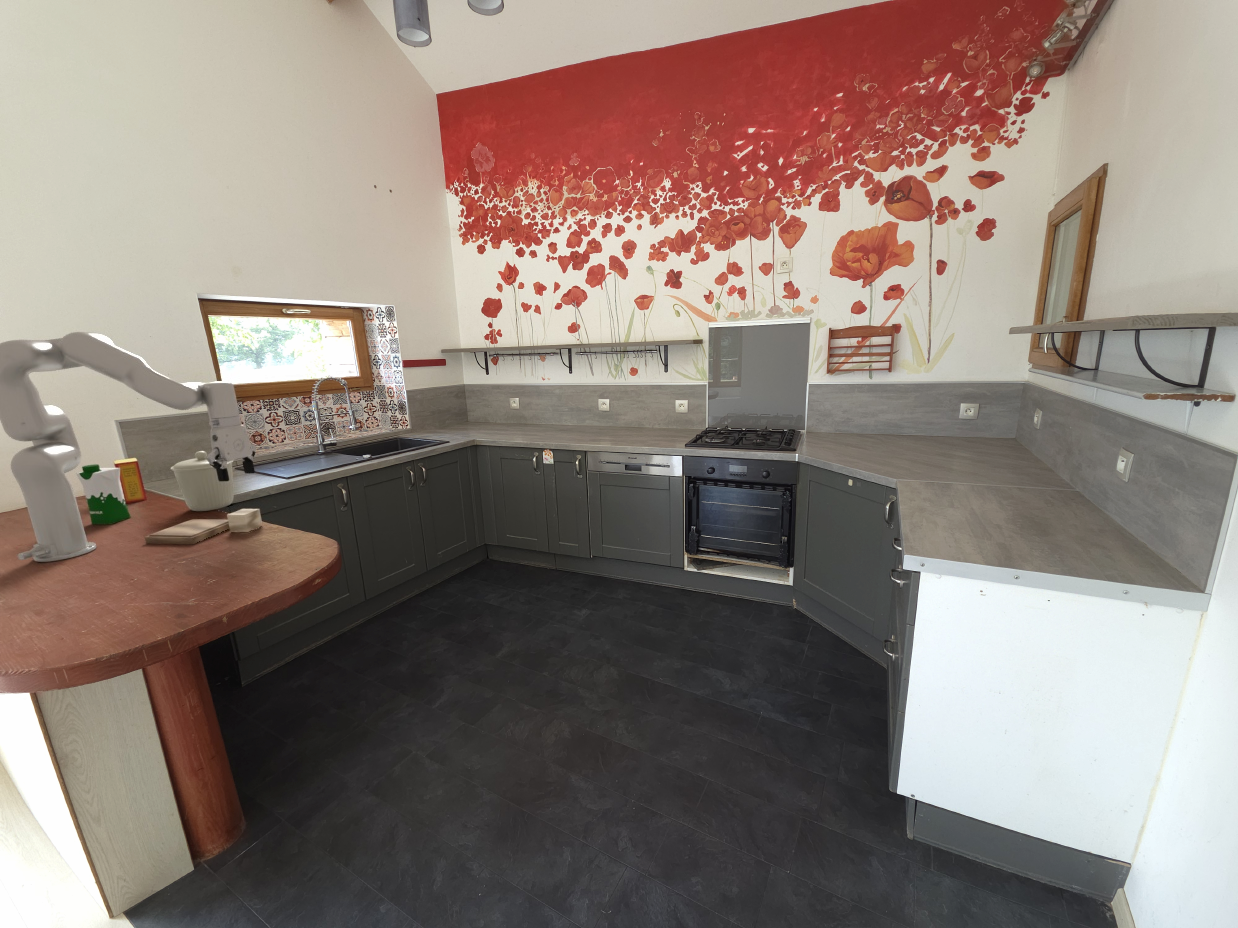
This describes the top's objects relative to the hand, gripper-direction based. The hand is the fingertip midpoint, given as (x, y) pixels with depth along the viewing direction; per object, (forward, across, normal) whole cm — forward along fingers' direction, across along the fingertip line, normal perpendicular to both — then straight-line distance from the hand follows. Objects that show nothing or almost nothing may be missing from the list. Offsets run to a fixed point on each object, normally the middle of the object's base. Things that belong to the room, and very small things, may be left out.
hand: (237, 477), depth 164 cm
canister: (+17, +22, +34) cm, 44 cm away
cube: (+17, 0, 0) cm, 17 cm away
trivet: (+17, -5, +14) cm, 23 cm away
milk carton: (+17, +6, +57) cm, 60 cm away
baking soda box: (+17, +31, +77) cm, 85 cm away
